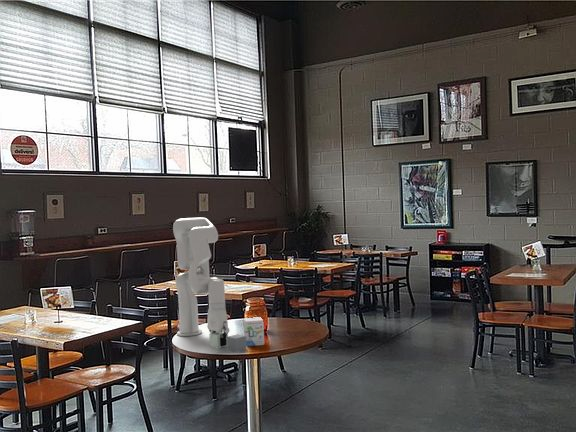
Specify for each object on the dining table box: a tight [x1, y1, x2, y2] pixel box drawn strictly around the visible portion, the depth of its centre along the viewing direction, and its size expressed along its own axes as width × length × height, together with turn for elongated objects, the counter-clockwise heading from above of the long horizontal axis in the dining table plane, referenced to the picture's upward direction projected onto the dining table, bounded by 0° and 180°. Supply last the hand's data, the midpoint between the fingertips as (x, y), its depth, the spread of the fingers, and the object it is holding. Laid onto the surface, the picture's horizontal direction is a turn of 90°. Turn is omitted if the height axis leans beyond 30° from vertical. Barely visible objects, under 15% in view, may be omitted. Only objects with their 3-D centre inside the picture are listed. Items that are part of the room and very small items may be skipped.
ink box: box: [243, 317, 265, 347], centre depth 268 cm, size 8×8×12 cm
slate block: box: [227, 333, 248, 353], centre depth 258 cm, size 6×6×6 cm
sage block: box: [208, 332, 229, 349], centre depth 266 cm, size 6×6×6 cm
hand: (219, 344), depth 266 cm, fingers closed on sage block, 6 cm apart
